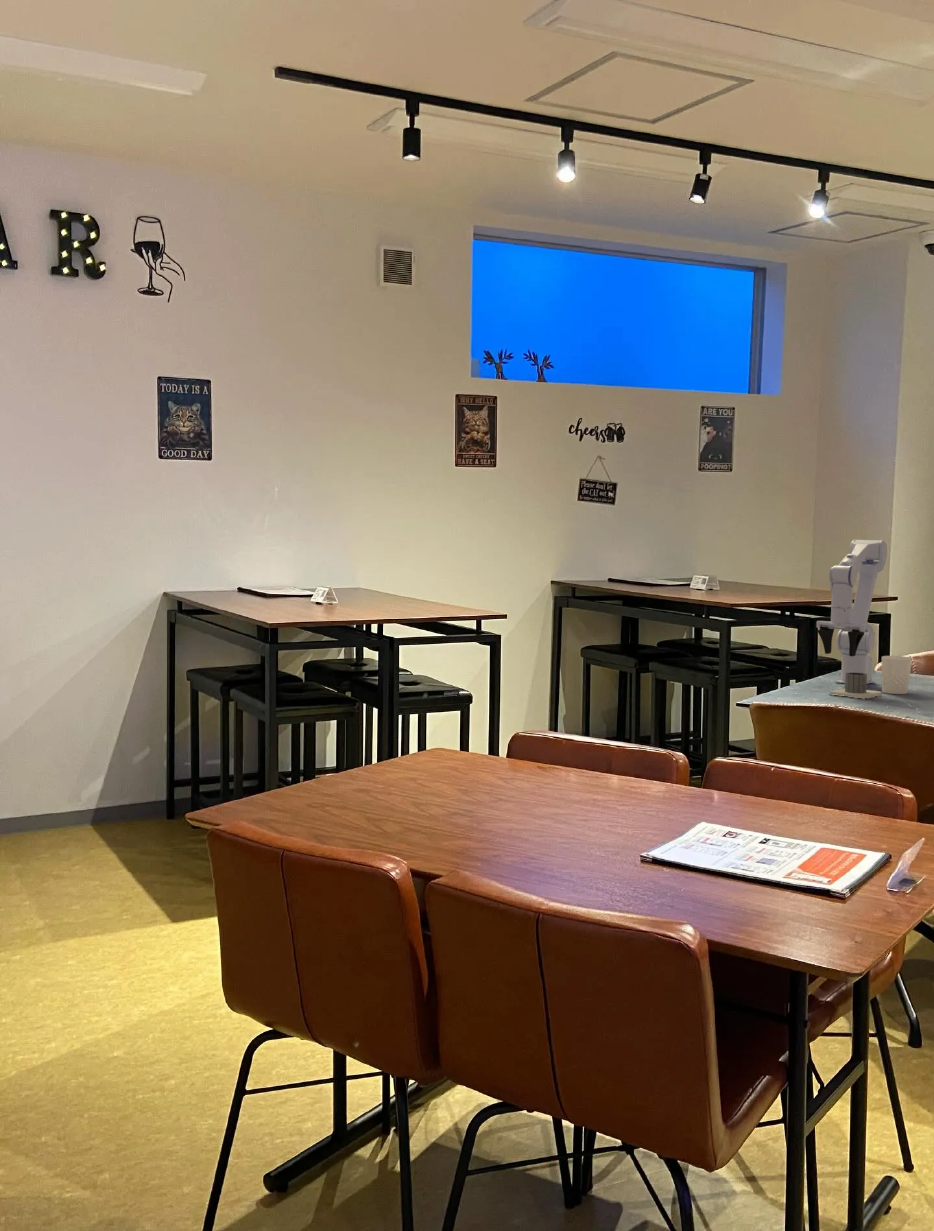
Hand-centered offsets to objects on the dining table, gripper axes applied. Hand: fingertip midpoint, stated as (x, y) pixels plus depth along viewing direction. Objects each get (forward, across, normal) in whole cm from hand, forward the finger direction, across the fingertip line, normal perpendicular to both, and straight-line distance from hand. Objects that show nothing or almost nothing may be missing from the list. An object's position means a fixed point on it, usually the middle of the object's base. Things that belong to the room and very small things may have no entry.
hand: (840, 654), depth 343 cm
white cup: (+10, +14, +6) cm, 18 cm away
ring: (+9, +9, -7) cm, 15 cm away
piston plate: (+10, +9, -7) cm, 15 cm away
